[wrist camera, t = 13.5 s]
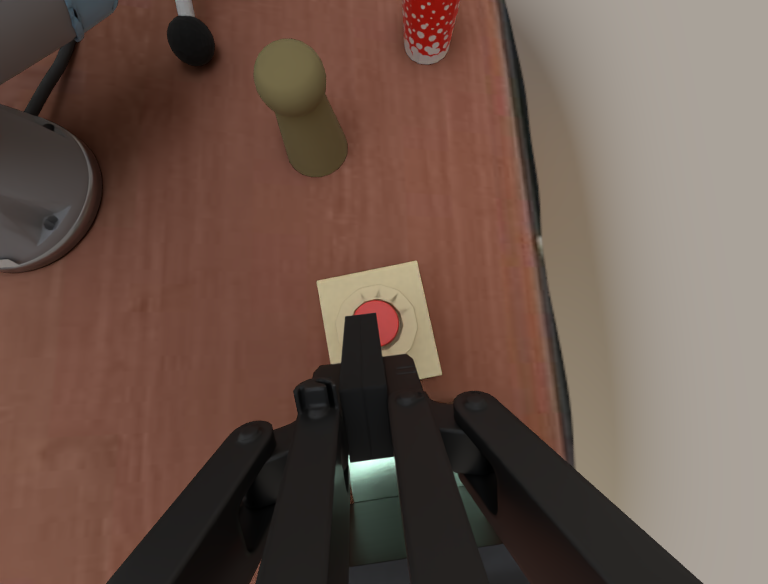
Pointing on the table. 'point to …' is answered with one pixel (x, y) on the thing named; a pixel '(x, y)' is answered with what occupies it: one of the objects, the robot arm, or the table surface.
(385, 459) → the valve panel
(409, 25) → the beverage cup
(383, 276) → the button box
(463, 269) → the table surface
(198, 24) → the mechanical valve
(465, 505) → the black panel
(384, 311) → the red push button
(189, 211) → the table surface
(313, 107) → the olive pawn
